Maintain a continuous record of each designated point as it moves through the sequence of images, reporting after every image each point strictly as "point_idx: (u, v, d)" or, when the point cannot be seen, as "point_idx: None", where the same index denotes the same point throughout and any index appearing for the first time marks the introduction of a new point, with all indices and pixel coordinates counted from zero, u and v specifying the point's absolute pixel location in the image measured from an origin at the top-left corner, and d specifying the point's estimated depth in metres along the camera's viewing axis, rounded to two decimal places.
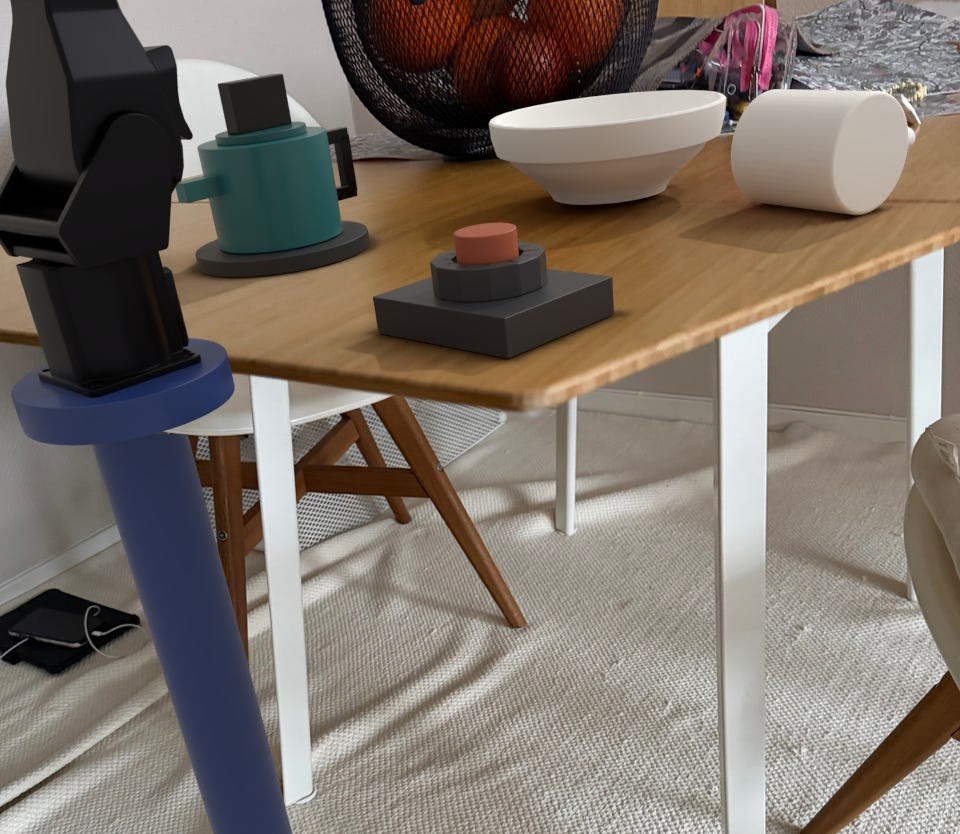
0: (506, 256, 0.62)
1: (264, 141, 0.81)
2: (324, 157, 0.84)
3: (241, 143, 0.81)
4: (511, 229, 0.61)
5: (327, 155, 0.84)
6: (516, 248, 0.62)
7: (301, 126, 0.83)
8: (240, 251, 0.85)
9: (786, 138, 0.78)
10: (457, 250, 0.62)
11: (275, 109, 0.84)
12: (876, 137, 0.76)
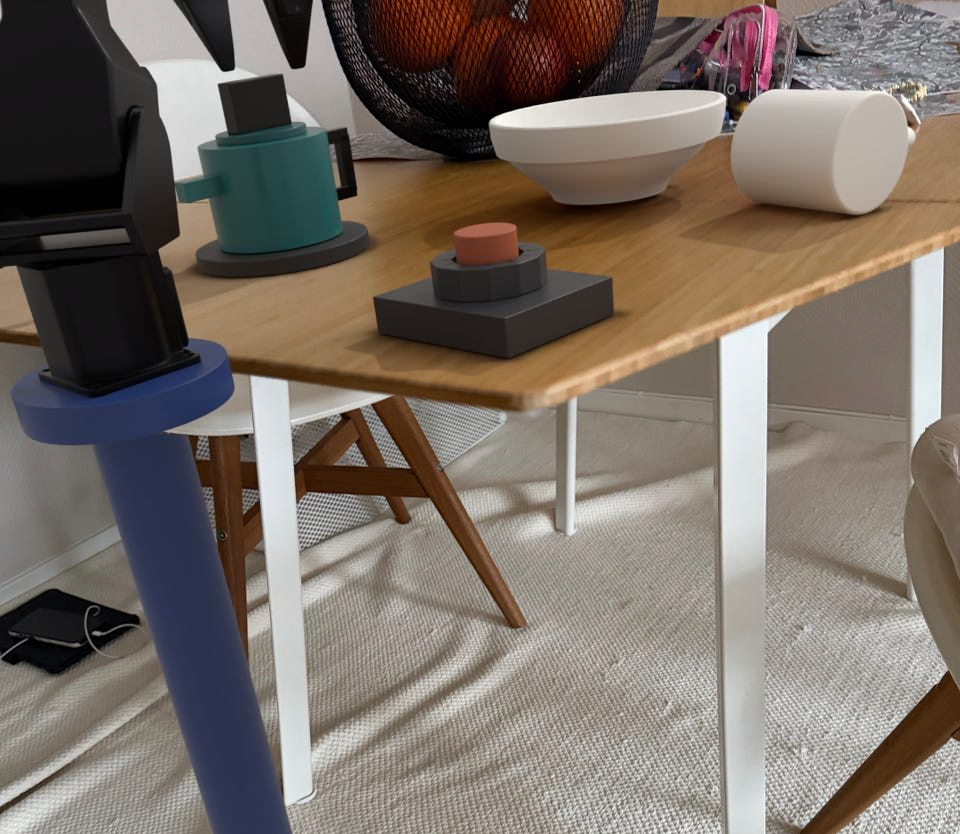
0: (506, 256, 0.62)
1: (264, 141, 0.81)
2: (324, 157, 0.84)
3: (241, 143, 0.81)
4: (511, 229, 0.61)
5: (327, 155, 0.84)
6: (516, 248, 0.62)
7: (301, 126, 0.83)
8: (240, 251, 0.85)
9: (786, 138, 0.78)
10: (457, 250, 0.62)
11: (275, 109, 0.84)
12: (876, 137, 0.76)
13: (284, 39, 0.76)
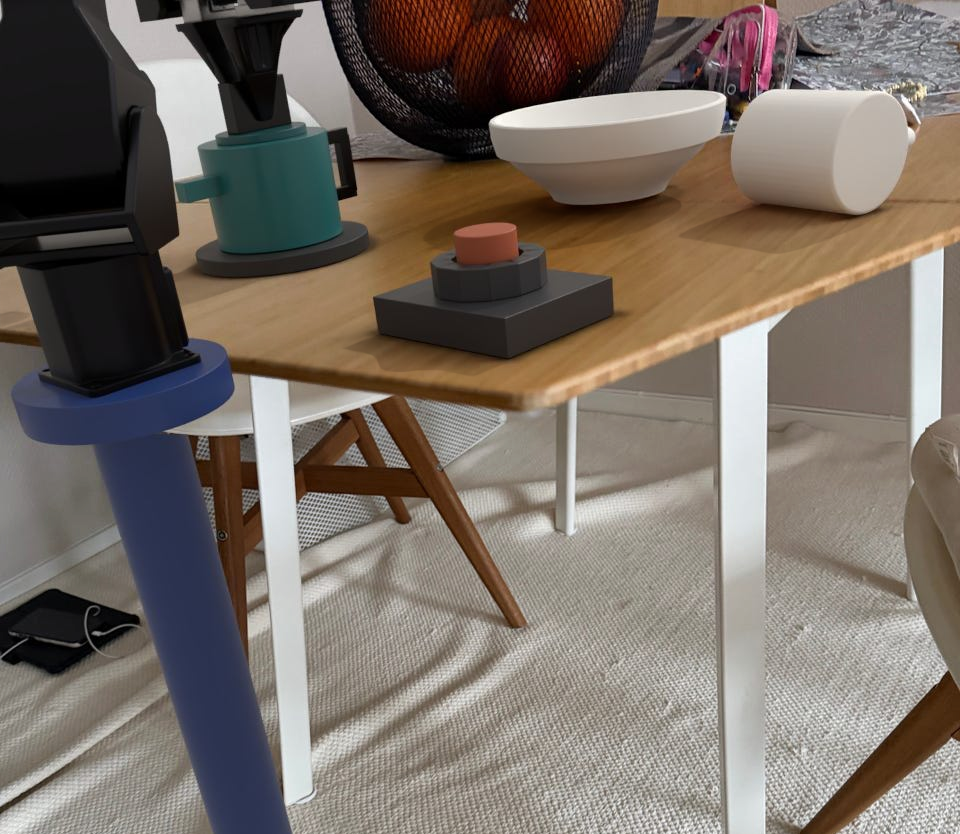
0: (506, 256, 0.62)
1: (264, 141, 0.81)
2: (324, 157, 0.84)
3: (241, 143, 0.81)
4: (511, 229, 0.61)
5: (327, 155, 0.84)
6: (516, 248, 0.62)
7: (301, 126, 0.83)
8: (240, 251, 0.85)
9: (786, 138, 0.78)
10: (457, 250, 0.62)
11: (275, 109, 0.84)
12: (876, 137, 0.76)
13: (252, 94, 0.81)
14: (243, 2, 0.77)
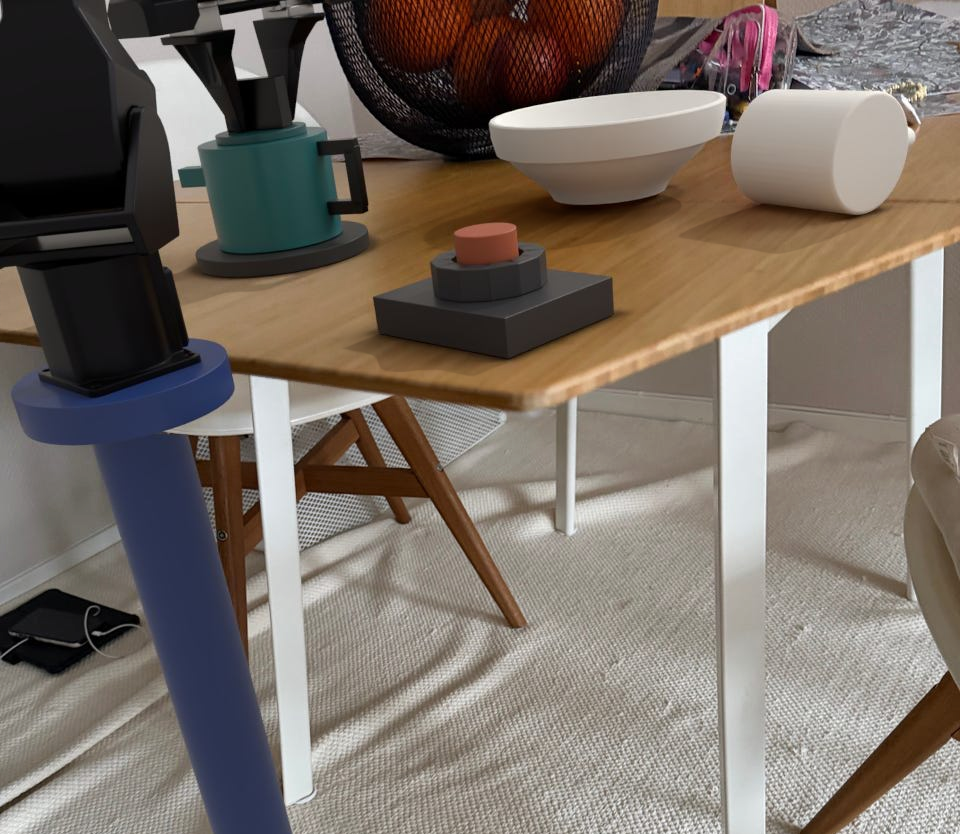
0: (506, 256, 0.62)
1: (220, 144, 0.83)
2: (263, 171, 0.81)
3: (216, 142, 0.84)
4: (511, 229, 0.61)
5: (273, 169, 0.81)
6: (516, 248, 0.62)
7: (259, 135, 0.81)
8: None
9: (786, 138, 0.78)
10: (457, 250, 0.62)
11: (265, 112, 0.82)
12: (876, 137, 0.76)
13: (218, 106, 0.82)
14: None
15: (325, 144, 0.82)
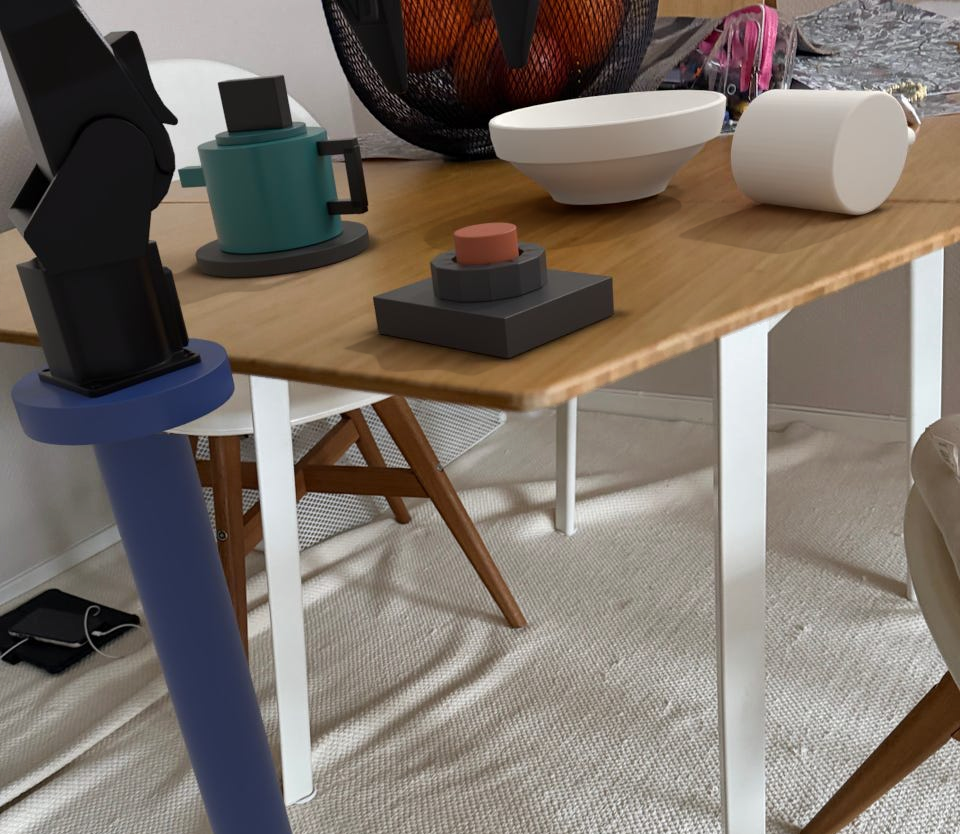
0: (506, 256, 0.62)
1: (220, 144, 0.83)
2: (263, 171, 0.81)
3: (216, 142, 0.84)
4: (511, 229, 0.61)
5: (273, 169, 0.81)
6: (516, 248, 0.62)
7: (258, 135, 0.81)
8: None
9: (786, 138, 0.78)
10: (457, 250, 0.62)
11: (265, 112, 0.82)
12: (876, 137, 0.76)
13: (367, 53, 0.56)
14: None
15: (325, 144, 0.82)
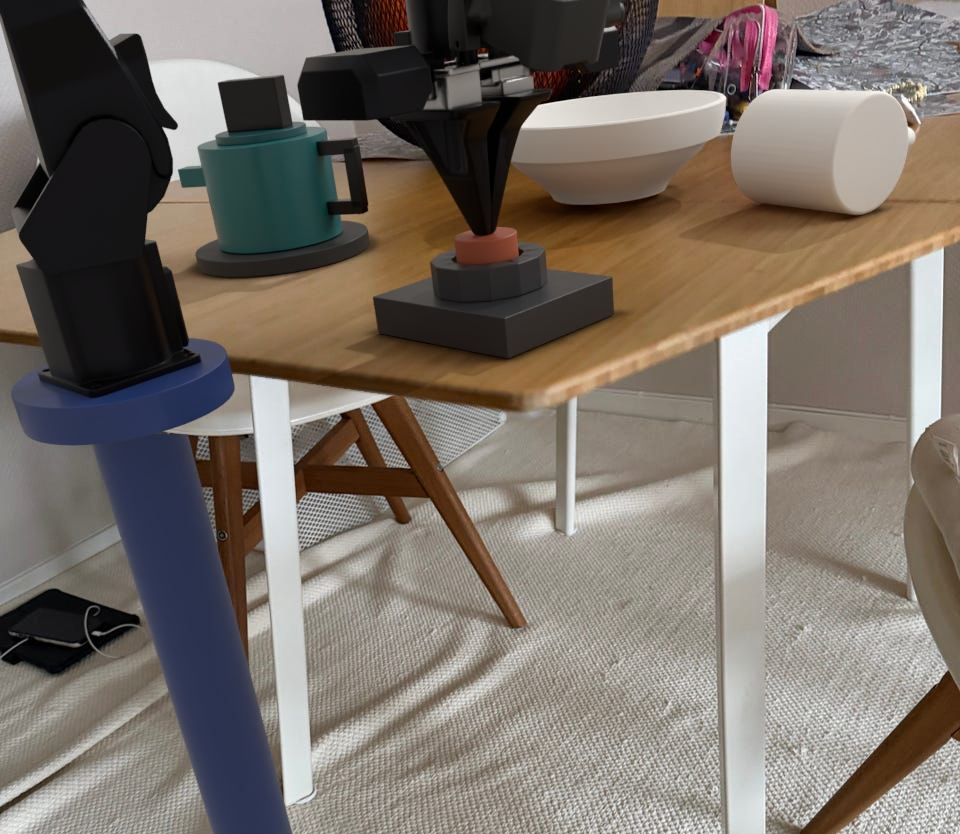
0: None
1: (220, 144, 0.83)
2: (263, 171, 0.81)
3: (216, 142, 0.84)
4: (511, 234, 0.62)
5: (273, 169, 0.81)
6: (516, 252, 0.62)
7: (258, 135, 0.81)
8: None
9: (786, 138, 0.78)
10: (457, 254, 0.62)
11: (265, 112, 0.82)
12: (876, 137, 0.76)
13: (454, 199, 0.62)
14: None
15: (325, 144, 0.82)
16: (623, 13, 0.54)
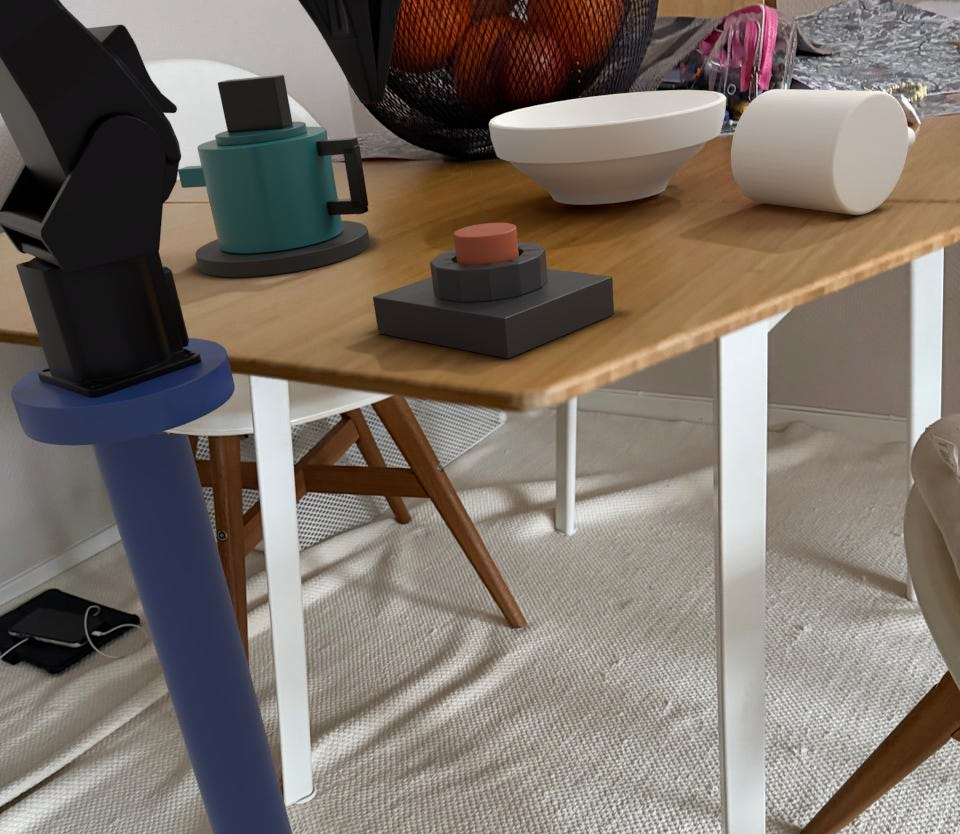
0: (506, 256, 0.62)
1: (220, 144, 0.83)
2: (263, 171, 0.81)
3: (216, 142, 0.84)
4: (511, 229, 0.61)
5: (273, 169, 0.81)
6: (516, 248, 0.62)
7: (258, 135, 0.81)
8: None
9: (786, 138, 0.78)
10: (457, 250, 0.62)
11: (265, 112, 0.82)
12: (876, 137, 0.76)
13: (340, 65, 0.60)
14: None
15: (325, 144, 0.82)
16: None
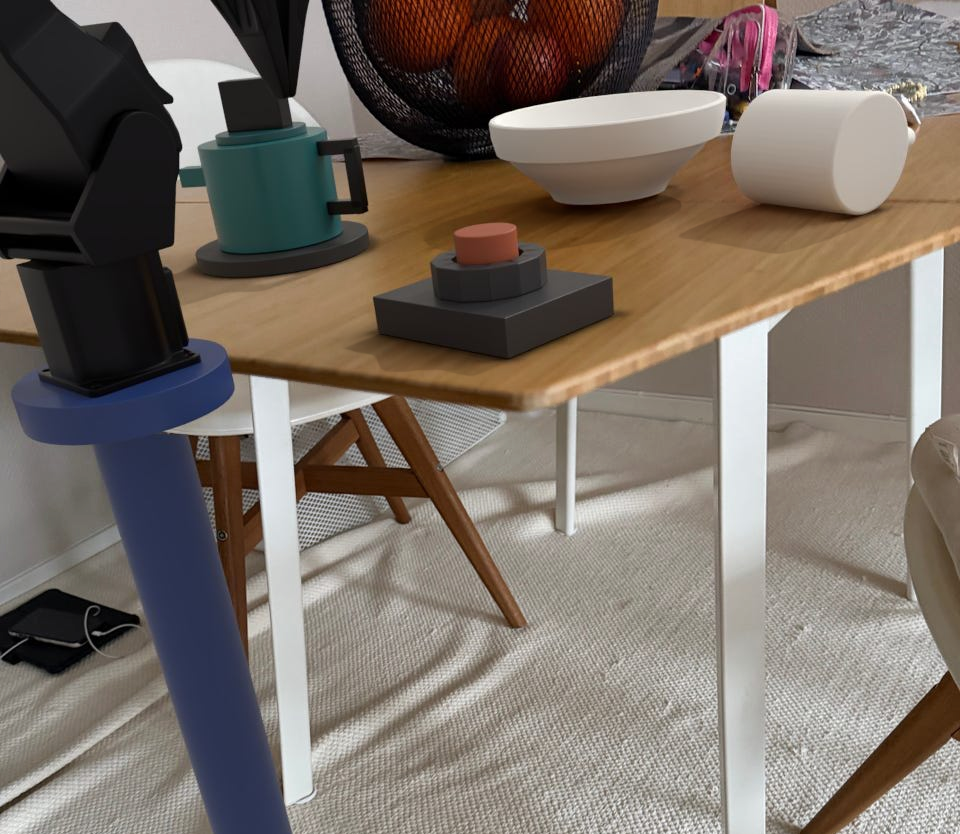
0: (506, 256, 0.62)
1: (220, 144, 0.83)
2: (263, 171, 0.81)
3: (216, 142, 0.84)
4: (511, 229, 0.61)
5: (273, 169, 0.81)
6: (516, 248, 0.62)
7: (258, 135, 0.81)
8: None
9: (786, 138, 0.78)
10: (457, 250, 0.62)
11: (265, 112, 0.82)
12: (876, 137, 0.76)
13: (252, 62, 0.61)
14: None
15: (325, 144, 0.82)
16: None
